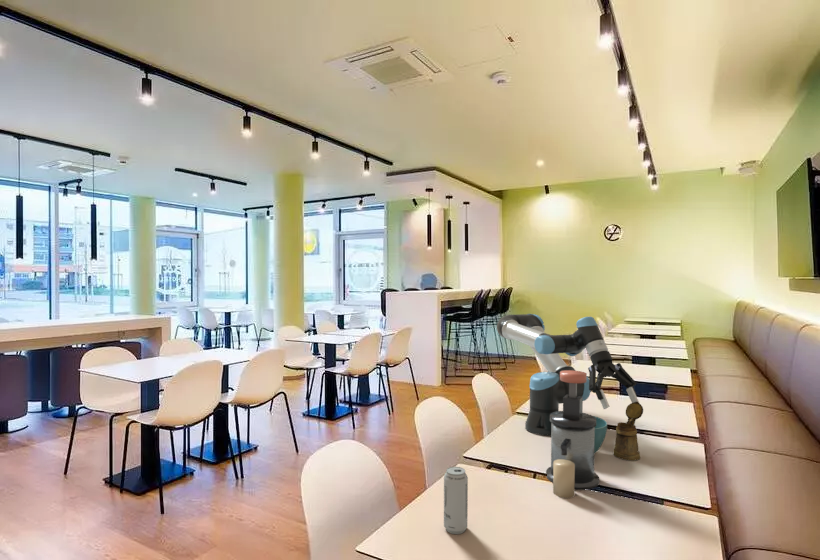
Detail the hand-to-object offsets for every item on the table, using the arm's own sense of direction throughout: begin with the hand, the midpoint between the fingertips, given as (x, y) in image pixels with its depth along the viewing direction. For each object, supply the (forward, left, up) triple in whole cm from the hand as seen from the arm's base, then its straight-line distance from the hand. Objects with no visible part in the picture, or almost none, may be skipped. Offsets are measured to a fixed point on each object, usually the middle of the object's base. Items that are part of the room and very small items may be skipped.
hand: (621, 406), depth 175 cm
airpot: (+15, -35, -16) cm, 41 cm away
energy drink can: (+29, -81, -17) cm, 87 cm away
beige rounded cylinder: (+21, -42, -16) cm, 50 cm away
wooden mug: (+4, 0, -17) cm, 17 cm away
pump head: (+14, -33, +9) cm, 37 cm away
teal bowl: (-2, -17, -17) cm, 24 cm away
